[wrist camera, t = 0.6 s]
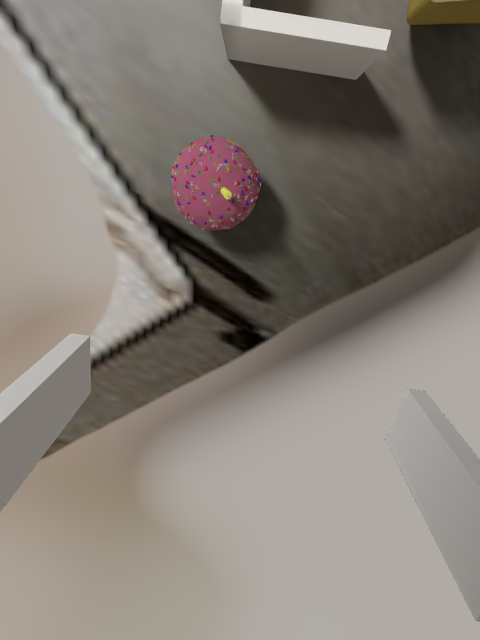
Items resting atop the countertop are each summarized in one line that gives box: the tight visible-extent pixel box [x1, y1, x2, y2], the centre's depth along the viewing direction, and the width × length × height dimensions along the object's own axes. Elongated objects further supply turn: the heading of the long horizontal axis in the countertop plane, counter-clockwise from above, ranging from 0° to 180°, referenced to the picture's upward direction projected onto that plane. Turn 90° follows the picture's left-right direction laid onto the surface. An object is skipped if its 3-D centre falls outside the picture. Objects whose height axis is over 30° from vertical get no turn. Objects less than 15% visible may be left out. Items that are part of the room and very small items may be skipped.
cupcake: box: [171, 135, 261, 231], centre depth 31 cm, size 9×8×12 cm
